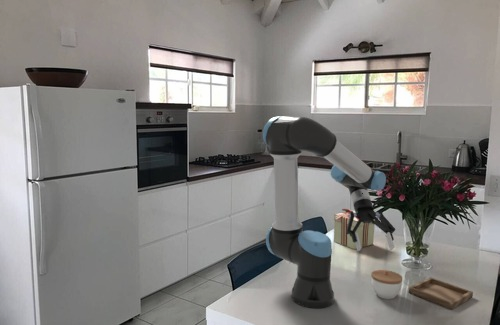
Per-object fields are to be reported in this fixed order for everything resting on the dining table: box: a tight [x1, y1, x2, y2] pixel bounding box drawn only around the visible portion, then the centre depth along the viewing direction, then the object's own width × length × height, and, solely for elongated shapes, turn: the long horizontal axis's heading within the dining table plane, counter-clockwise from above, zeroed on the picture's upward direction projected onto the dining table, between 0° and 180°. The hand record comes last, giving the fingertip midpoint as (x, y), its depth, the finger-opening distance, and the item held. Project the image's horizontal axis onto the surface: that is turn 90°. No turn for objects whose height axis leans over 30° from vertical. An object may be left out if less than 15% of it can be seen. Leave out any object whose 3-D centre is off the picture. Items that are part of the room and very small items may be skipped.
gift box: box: [333, 208, 375, 250], centre depth 204 cm, size 17×18×17 cm
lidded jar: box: [371, 269, 403, 300], centre depth 147 cm, size 11×11×9 cm
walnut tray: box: [408, 277, 474, 311], centre depth 148 cm, size 16×16×2 cm
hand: (376, 249), depth 156 cm, fingers open, 13 cm apart
